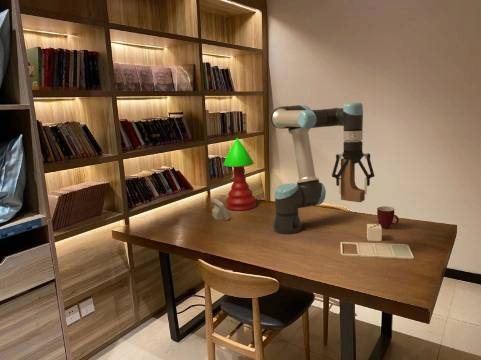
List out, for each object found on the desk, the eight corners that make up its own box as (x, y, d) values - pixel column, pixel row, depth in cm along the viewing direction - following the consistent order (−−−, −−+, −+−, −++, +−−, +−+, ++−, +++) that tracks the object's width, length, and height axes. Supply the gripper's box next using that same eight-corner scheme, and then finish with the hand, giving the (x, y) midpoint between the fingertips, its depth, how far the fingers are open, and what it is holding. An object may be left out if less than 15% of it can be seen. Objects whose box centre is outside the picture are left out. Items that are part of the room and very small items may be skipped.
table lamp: (245, 212, 223) (241, 139, 213) (219, 209, 234) (214, 139, 224) (261, 204, 239) (258, 135, 229) (236, 201, 250) (232, 135, 240)
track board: (340, 255, 155) (340, 254, 155) (340, 243, 168) (340, 241, 168) (414, 259, 148) (414, 257, 148) (407, 245, 161) (407, 244, 161)
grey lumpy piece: (230, 220, 209) (229, 203, 207) (214, 222, 208) (213, 204, 205) (225, 213, 225) (224, 196, 222) (211, 214, 223) (210, 197, 221)
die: (367, 240, 169) (368, 228, 168) (366, 235, 175) (367, 223, 174) (381, 240, 168) (381, 228, 167) (380, 236, 174) (380, 224, 172)
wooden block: (365, 200, 154) (365, 158, 150) (360, 202, 151) (360, 160, 147) (345, 197, 160) (345, 157, 156) (340, 200, 157) (340, 158, 153)
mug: (400, 227, 183) (401, 208, 181) (396, 232, 177) (397, 212, 175) (379, 223, 190) (380, 205, 188) (374, 228, 184) (375, 209, 182)
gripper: (324, 142, 150) (325, 195, 154) (382, 141, 144) (381, 195, 148) (325, 140, 157) (326, 190, 161) (380, 139, 151) (379, 191, 155)
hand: (352, 193), depth 155 cm, fingers closed on wooden block, 10 cm apart
